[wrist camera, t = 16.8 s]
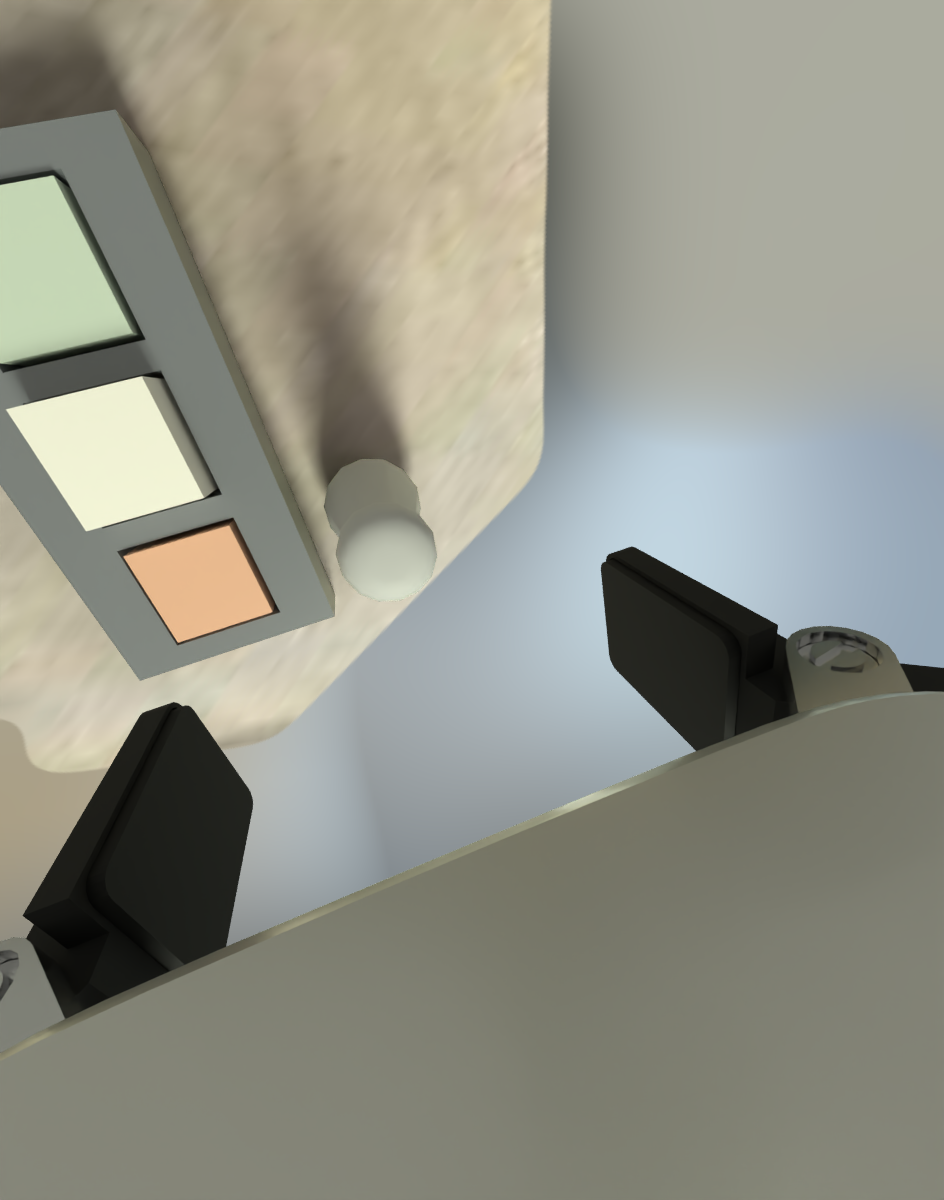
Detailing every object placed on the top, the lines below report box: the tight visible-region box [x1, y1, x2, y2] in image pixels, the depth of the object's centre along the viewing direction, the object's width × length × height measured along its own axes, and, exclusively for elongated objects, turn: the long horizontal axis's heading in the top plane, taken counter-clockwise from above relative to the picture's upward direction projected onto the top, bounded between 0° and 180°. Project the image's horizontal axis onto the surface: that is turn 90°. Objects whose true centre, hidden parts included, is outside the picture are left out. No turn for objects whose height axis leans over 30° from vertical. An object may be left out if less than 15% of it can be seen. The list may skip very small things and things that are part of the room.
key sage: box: [0, 176, 146, 367], centre depth 21 cm, size 6×6×4 cm
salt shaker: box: [324, 459, 437, 602], centre depth 24 cm, size 6×6×13 cm
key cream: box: [6, 376, 219, 531], centre depth 23 cm, size 6×6×4 cm
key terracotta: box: [123, 518, 275, 643], centre depth 27 cm, size 6×6×4 cm
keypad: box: [0, 109, 335, 681], centre depth 24 cm, size 24×12×4 cm, turn 13°
